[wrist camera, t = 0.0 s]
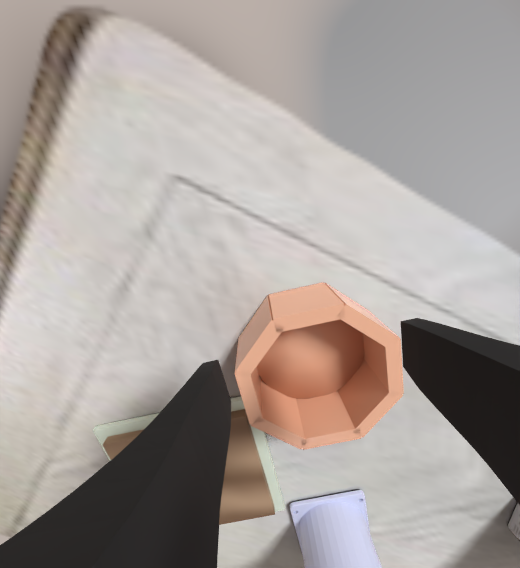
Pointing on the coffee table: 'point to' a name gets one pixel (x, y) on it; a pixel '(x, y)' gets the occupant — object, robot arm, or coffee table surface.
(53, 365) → the coffee table surface
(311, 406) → the bowl
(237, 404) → the mat
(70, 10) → the coffee table surface
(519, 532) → the coffee box
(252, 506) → the lid
